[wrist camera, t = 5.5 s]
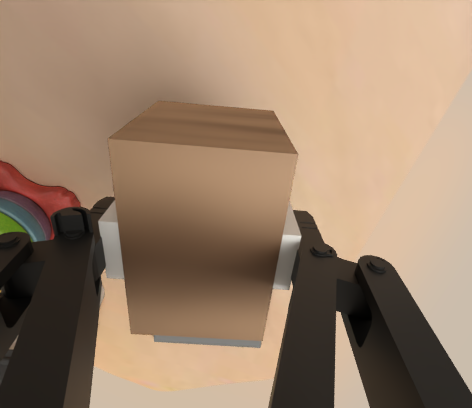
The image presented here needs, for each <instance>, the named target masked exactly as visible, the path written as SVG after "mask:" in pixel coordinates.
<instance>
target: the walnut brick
mask: <svg viewBox="0 0 472 408" xmlns="http://www.w3.org/2000/svg"><path fill="white" fill-rule="evenodd" d="M108 146H109V154H110V162H111V171H112V179H113V188H114V196H115V204H116V213H117V221H118V229H119V238H120V246H121V255H122V263H123V271H124V280H125V288H126V297H127V305H128V313H129V322H130V330H131V334H142V335H160V336H179V337H197V338H216V339H234V340H253V341H263V336H264V331H265V326H266V320H267V315H268V310H269V305H270V299H271V294H272V289H273V284H274V279H275V273H276V268H277V263H278V258H279V252H280V247H281V242H282V237H283V231H284V226H285V221H286V216H287V210H288V205H289V200H290V195H291V190H292V184H293V179H294V174H295V169H296V163H297V158H298V153H297V151H296V150H295V148H294V146H293V144H292V143H291V141H290V139H289V137H288V136H287V134H286V132H285V130H284V129H283V127H282V125H281V123H280V122H279V120H278V118H277V116H276V115H275V113H274V111H268V110H257V109H245V108H234V107H222V106H211V105H199V104H188V103H176V102H165V101H158V102H156V103H155V104H154V105H152V106H151V107H150V108H148V109H147V110H146V111H144V112H143V113H142V114H140V115H139V116H138V117H136V118H135V119H134V120H132V121H131V122H130V123H128V124H127V125H126V126H124V127H123V128H122V129H120V130H119V131H118V132H116V133H115V134H113V135H112V136H111V137H109V138H108Z"/></svg>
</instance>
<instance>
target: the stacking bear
mask: <svg viewBox="0 0 472 408" xmlns="http://www.w3.org/2000/svg"><path fill="white" fill-rule="evenodd" d="M67 207H80V203H79V201H78V200H77V199H76V196H75V195H74V194H73V193H72V192H70V191H68V190H66V189H65V188H63V187H46V186H41V185H38V184H35V183H33V182H31V181H29V180H27V179H26V178H24V177H23V176H22V175H21V174H20V173H19V172H18V171H17V170H16V169H15V168H14V167H13V166H11V165H10V164H8V163H3V162H1V161H0V235H1V234H3V233H7V232H18V231H19V232H25V233H27V234H29V236H30V239H31V242H37V241H45V240H52V239H54V232H53V228H52V223H51V219H50V216H51V215H52V214H53V213H54V212H56V211H58V210H60V209H63V208H67ZM0 292H1V290H0Z"/></svg>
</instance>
